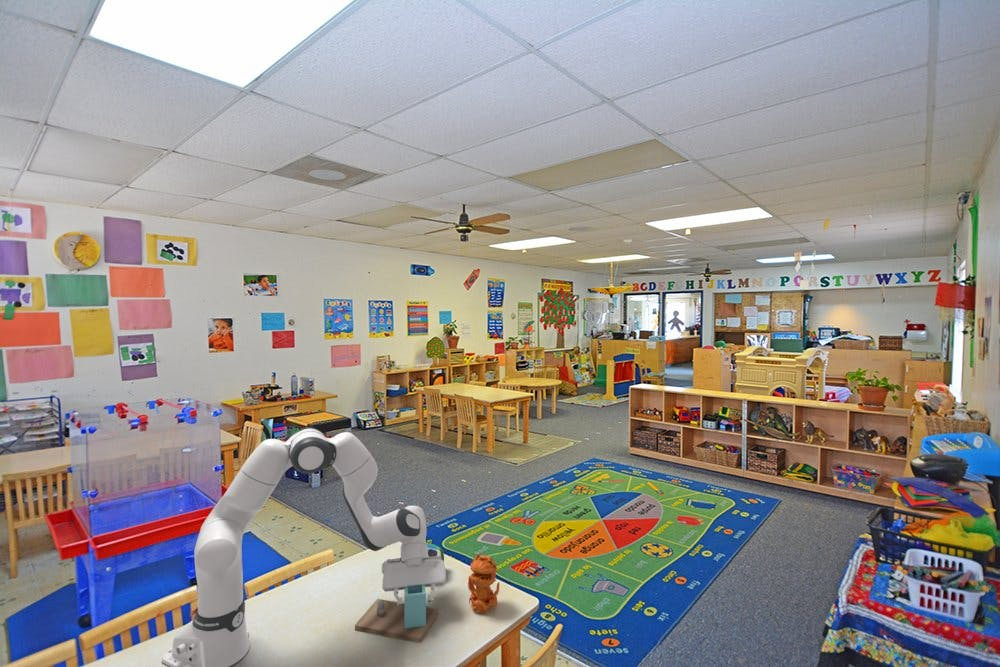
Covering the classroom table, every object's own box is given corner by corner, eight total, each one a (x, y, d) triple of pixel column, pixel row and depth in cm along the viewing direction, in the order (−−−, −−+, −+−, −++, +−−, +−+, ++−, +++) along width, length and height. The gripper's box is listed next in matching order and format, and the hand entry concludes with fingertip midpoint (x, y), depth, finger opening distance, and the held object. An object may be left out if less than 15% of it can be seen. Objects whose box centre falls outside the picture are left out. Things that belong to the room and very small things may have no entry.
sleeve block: (404, 628, 141) (404, 596, 141) (404, 615, 148) (404, 584, 147) (425, 625, 143) (425, 593, 143) (424, 612, 149) (424, 582, 149)
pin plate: (354, 629, 143) (354, 612, 143) (377, 603, 156) (377, 587, 156) (420, 642, 137) (420, 624, 137) (438, 613, 151) (438, 597, 151)
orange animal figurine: (460, 613, 151) (460, 559, 151) (474, 594, 162) (474, 544, 161) (491, 621, 147) (492, 566, 147) (504, 602, 157) (504, 550, 157)
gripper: (381, 556, 149) (380, 604, 140) (445, 550, 154) (448, 596, 144) (382, 563, 154) (381, 610, 144) (443, 556, 158) (446, 602, 149)
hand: (415, 603), depth 144 cm, fingers open, 8 cm apart
